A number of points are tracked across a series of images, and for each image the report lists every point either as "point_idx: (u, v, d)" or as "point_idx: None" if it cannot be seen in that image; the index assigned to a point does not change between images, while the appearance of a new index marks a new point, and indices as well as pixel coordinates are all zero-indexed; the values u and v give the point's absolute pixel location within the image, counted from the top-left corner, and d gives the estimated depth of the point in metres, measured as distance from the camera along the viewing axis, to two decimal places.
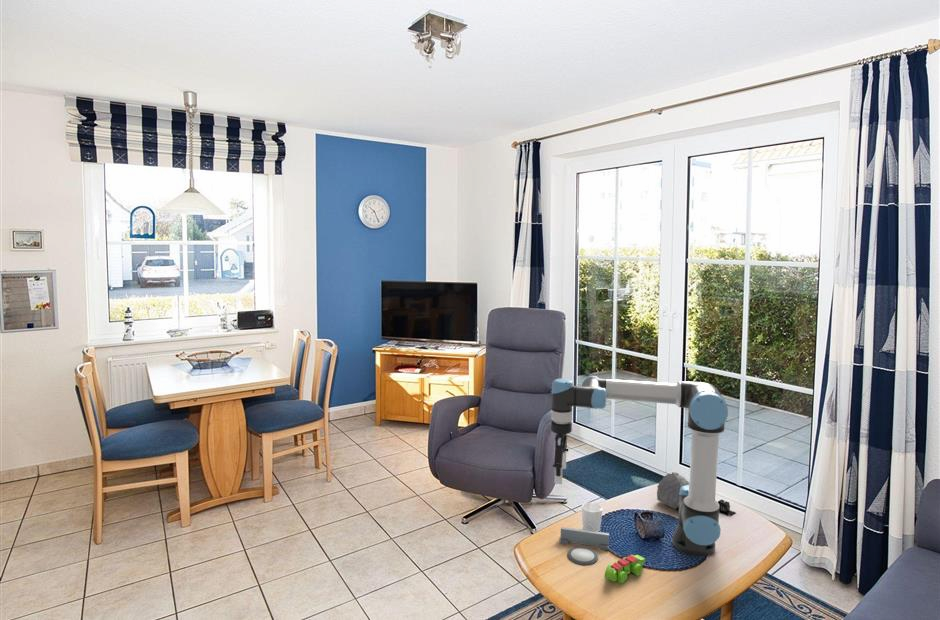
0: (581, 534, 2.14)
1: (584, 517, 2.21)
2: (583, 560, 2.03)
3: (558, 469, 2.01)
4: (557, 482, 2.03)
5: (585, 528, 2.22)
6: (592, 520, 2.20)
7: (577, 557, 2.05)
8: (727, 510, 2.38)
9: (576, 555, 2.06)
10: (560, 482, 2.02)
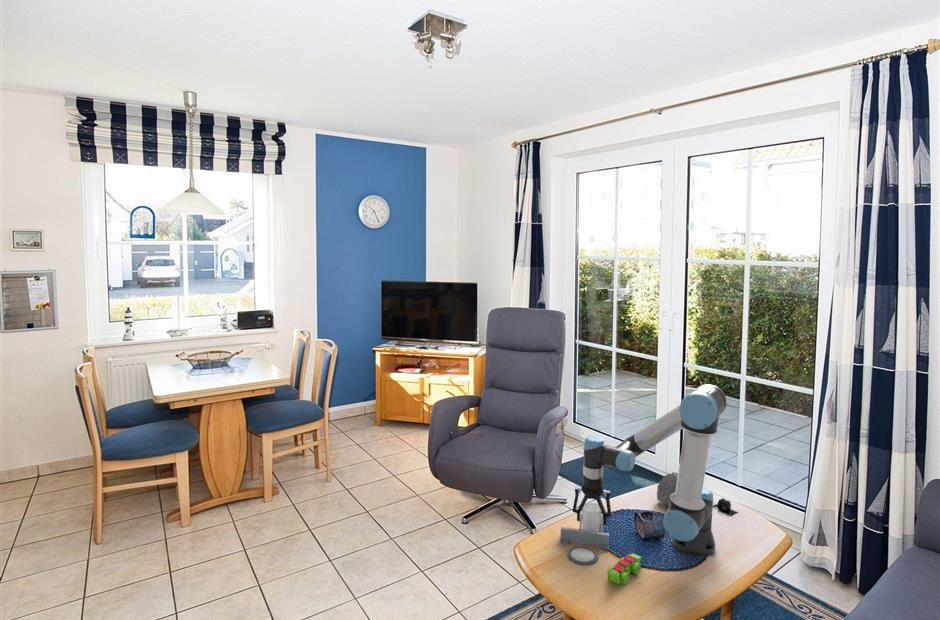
0: (581, 534, 2.14)
1: (584, 517, 2.21)
2: (583, 560, 2.03)
3: (577, 514, 2.25)
4: None
5: (585, 528, 2.22)
6: (592, 520, 2.20)
7: (577, 557, 2.05)
8: (728, 509, 2.39)
9: (576, 555, 2.06)
10: None
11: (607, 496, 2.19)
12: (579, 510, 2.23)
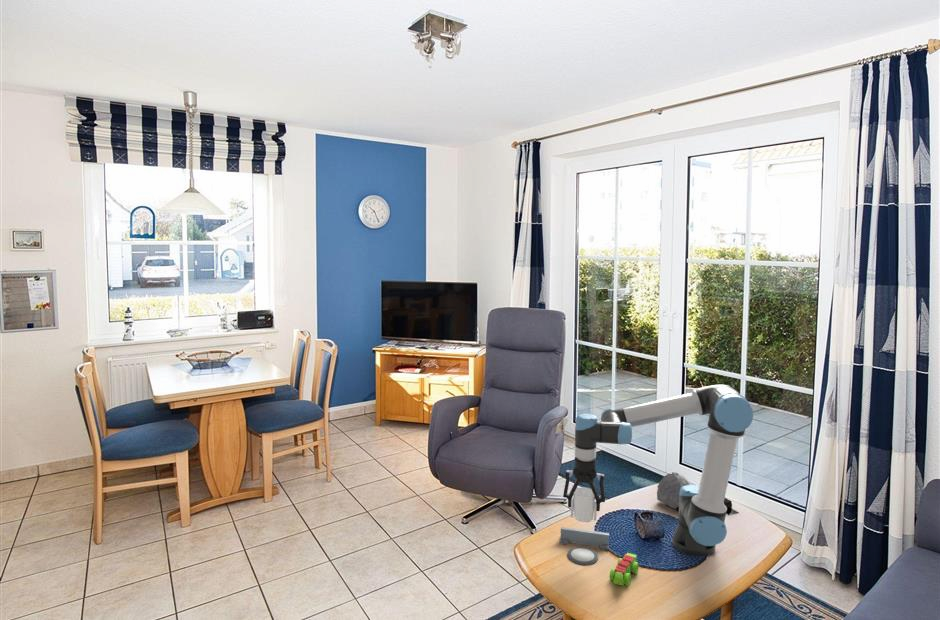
0: (581, 534, 2.14)
1: (576, 503, 2.02)
2: (583, 560, 2.03)
3: (568, 499, 2.05)
4: None
5: (577, 515, 2.02)
6: (584, 506, 2.00)
7: (577, 557, 2.05)
8: (728, 508, 2.39)
9: (576, 555, 2.06)
10: None
11: (601, 480, 2.00)
12: (570, 495, 2.04)
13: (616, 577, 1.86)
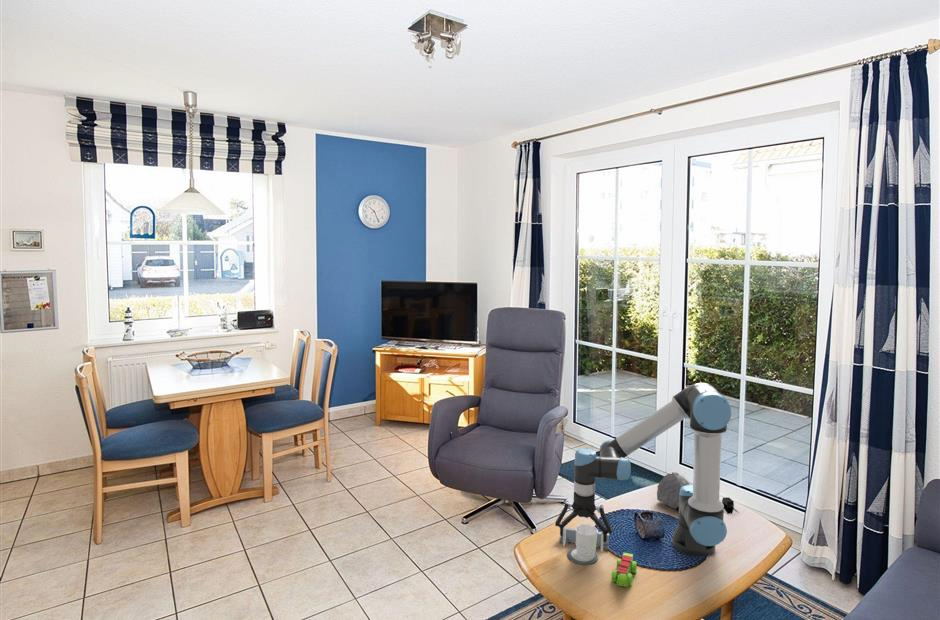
0: None
1: (578, 541, 2.03)
2: (583, 560, 2.03)
3: (560, 528, 2.07)
4: None
5: (579, 552, 2.04)
6: (587, 544, 2.02)
7: (577, 557, 2.05)
8: (729, 508, 2.40)
9: (576, 555, 2.06)
10: None
11: (601, 512, 2.01)
12: (563, 524, 2.06)
13: (620, 579, 1.85)
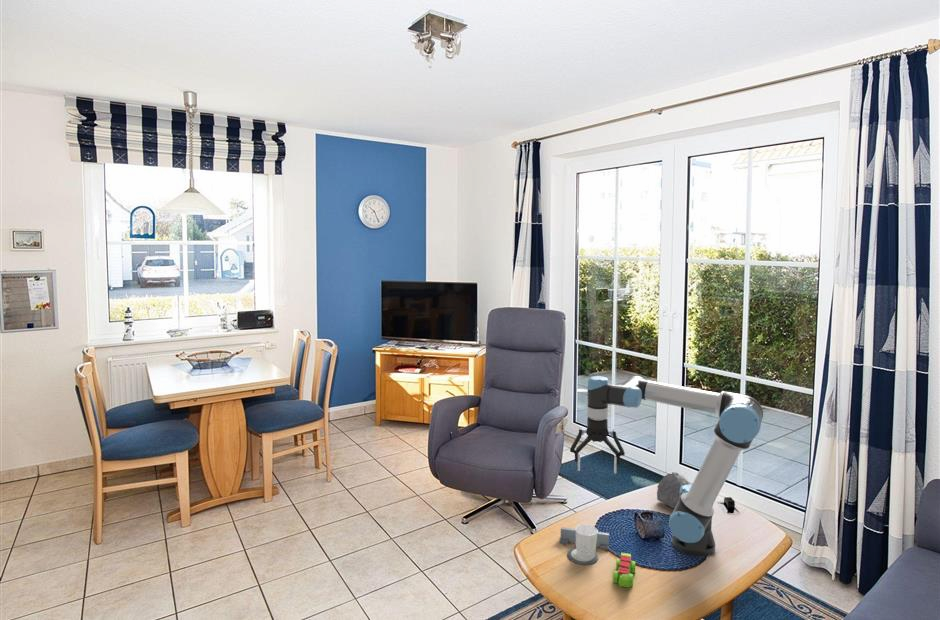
0: None
1: (578, 541, 2.03)
2: (583, 560, 2.03)
3: None
4: None
5: (579, 553, 2.04)
6: (586, 544, 2.02)
7: (577, 557, 2.05)
8: (730, 507, 2.40)
9: (576, 555, 2.06)
10: None
11: (614, 435, 2.11)
12: (578, 450, 2.15)
13: (623, 580, 1.85)
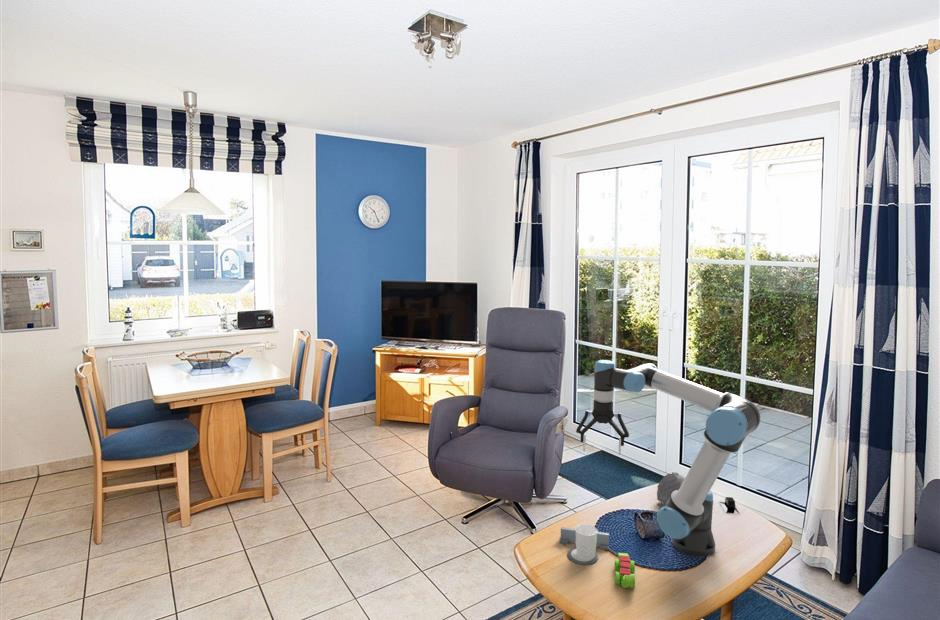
0: None
1: (578, 541, 2.03)
2: (583, 560, 2.03)
3: None
4: None
5: (579, 553, 2.04)
6: (586, 544, 2.02)
7: (577, 557, 2.05)
8: (730, 507, 2.40)
9: (576, 555, 2.06)
10: (583, 448, 2.24)
11: (619, 417, 2.18)
12: (583, 431, 2.22)
13: (627, 581, 1.84)
